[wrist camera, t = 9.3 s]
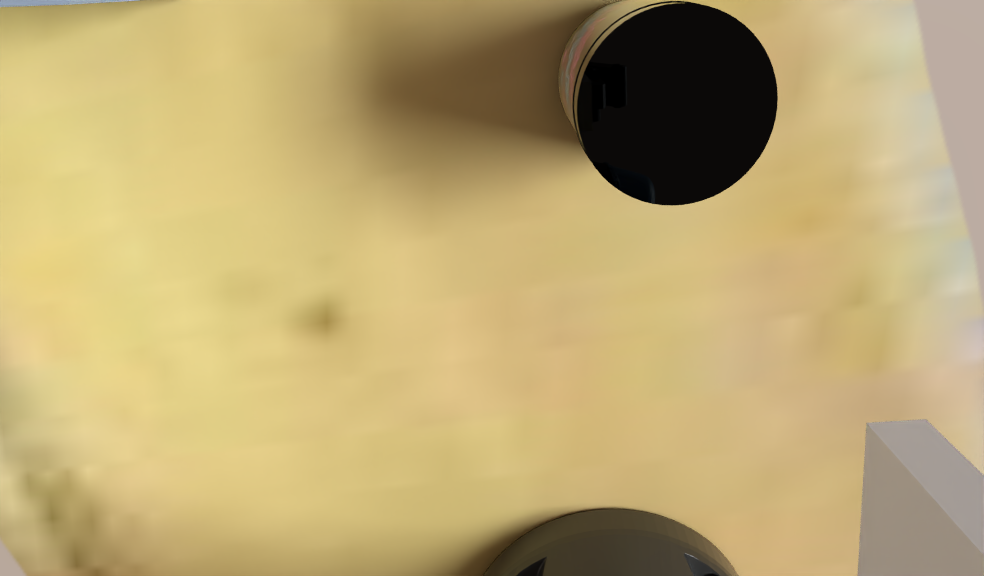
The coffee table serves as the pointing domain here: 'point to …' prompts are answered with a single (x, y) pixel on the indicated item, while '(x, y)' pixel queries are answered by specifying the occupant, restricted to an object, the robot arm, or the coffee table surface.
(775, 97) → the supplement container
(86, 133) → the coffee table surface
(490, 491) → the coffee table surface
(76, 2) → the coin box
